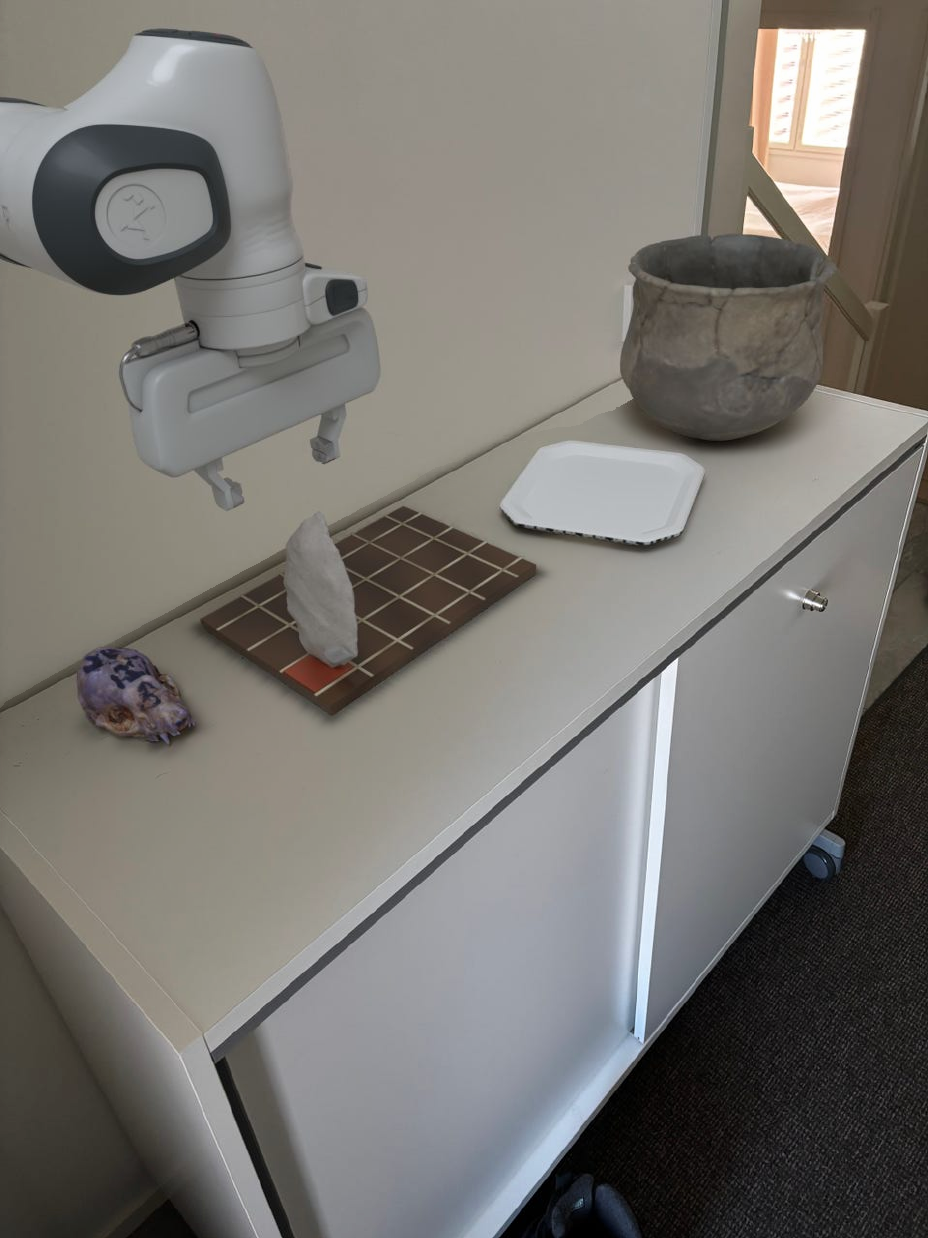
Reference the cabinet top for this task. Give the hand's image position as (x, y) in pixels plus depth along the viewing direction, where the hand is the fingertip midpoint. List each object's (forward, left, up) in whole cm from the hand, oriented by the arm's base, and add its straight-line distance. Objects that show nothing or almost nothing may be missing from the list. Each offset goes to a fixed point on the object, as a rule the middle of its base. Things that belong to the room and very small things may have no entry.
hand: (280, 481), depth 72 cm
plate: (+41, +8, -21) cm, 47 cm away
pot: (+65, +14, -21) cm, 70 cm away
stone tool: (+2, 0, -19) cm, 19 cm away
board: (+10, +8, -21) cm, 24 cm away
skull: (-15, +6, -21) cm, 26 cm away
